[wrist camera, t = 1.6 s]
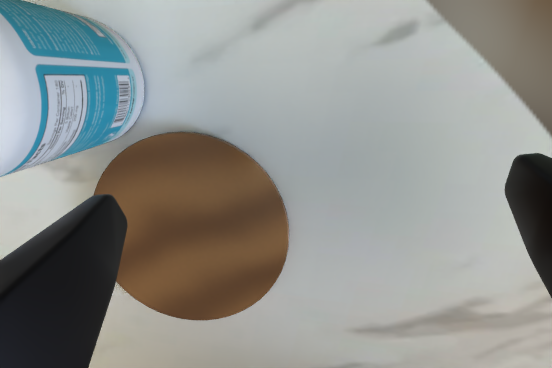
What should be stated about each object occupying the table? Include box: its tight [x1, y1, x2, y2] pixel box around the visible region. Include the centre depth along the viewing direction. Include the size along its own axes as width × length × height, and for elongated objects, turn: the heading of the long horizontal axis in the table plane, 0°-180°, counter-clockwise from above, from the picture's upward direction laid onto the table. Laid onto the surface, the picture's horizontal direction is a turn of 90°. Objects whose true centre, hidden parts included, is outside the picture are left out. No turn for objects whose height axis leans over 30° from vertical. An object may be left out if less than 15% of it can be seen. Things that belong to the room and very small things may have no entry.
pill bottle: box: [0, 0, 144, 177], centre depth 16 cm, size 8×7×14 cm
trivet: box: [94, 132, 289, 320], centre depth 24 cm, size 14×14×1 cm
